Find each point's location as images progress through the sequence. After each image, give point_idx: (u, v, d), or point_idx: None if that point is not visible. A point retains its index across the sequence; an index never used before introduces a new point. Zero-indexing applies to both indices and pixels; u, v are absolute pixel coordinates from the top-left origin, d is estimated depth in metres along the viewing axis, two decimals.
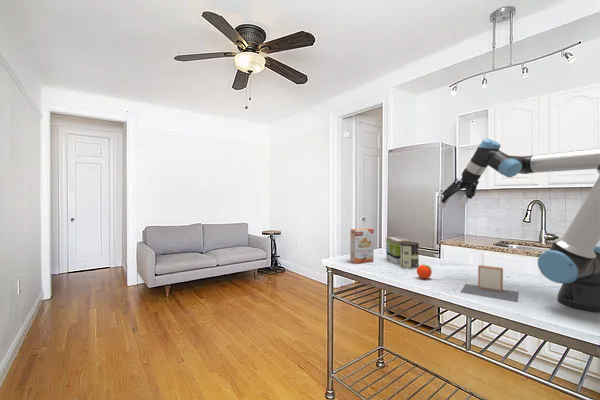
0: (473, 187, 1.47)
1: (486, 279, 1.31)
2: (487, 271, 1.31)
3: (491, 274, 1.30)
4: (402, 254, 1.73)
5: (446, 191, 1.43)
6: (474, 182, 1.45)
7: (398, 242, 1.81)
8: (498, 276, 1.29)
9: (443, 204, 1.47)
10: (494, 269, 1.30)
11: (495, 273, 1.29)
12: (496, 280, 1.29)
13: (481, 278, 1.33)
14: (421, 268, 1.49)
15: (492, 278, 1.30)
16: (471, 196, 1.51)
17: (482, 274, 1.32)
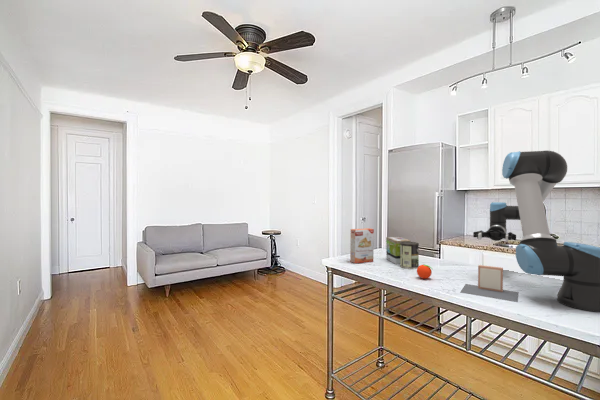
0: None
1: (486, 279, 1.31)
2: (487, 271, 1.31)
3: (491, 274, 1.30)
4: (402, 254, 1.73)
5: None
6: (507, 234, 1.49)
7: (398, 242, 1.81)
8: (498, 276, 1.29)
9: None
10: (494, 269, 1.30)
11: (495, 273, 1.29)
12: (496, 280, 1.29)
13: (481, 278, 1.33)
14: (421, 268, 1.49)
15: (492, 278, 1.30)
16: (513, 236, 1.40)
17: (482, 274, 1.32)
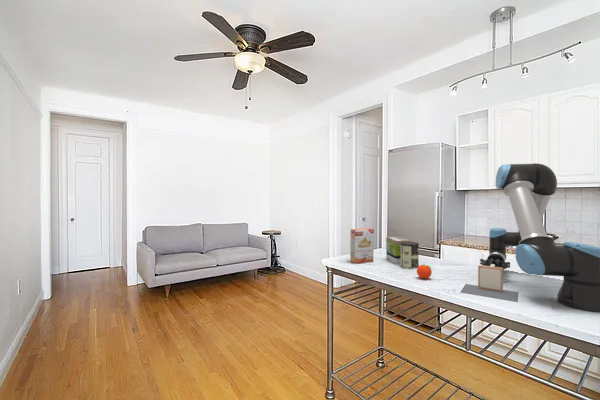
0: None
1: (486, 279, 1.31)
2: (487, 271, 1.31)
3: (491, 274, 1.30)
4: (402, 254, 1.73)
5: None
6: None
7: (398, 242, 1.81)
8: (498, 276, 1.29)
9: None
10: (494, 269, 1.30)
11: (495, 273, 1.29)
12: (496, 280, 1.29)
13: (481, 278, 1.33)
14: (421, 268, 1.49)
15: (492, 278, 1.30)
16: (500, 266, 1.41)
17: (482, 274, 1.32)
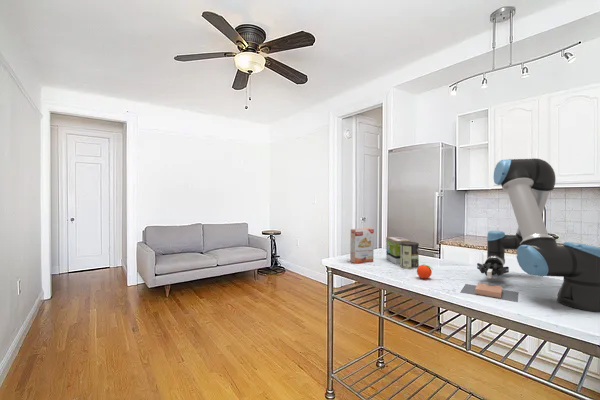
0: None
1: None
2: None
3: None
4: (402, 254, 1.73)
5: (480, 269, 1.39)
6: None
7: (398, 242, 1.81)
8: None
9: None
10: None
11: None
12: None
13: None
14: (421, 268, 1.49)
15: None
16: (498, 271, 1.33)
17: None
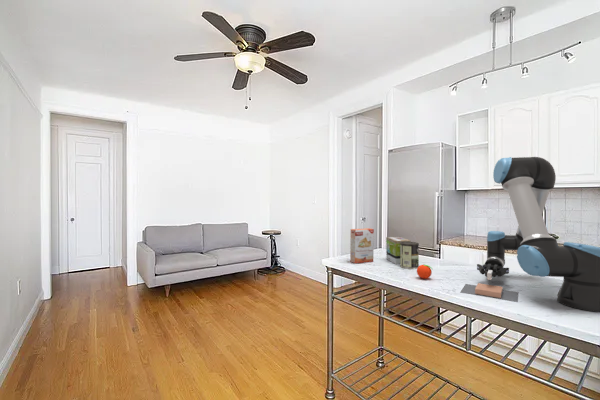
0: None
1: None
2: None
3: None
4: (402, 254, 1.73)
5: (480, 270, 1.37)
6: None
7: (398, 242, 1.81)
8: None
9: None
10: None
11: None
12: None
13: None
14: (421, 268, 1.49)
15: None
16: (498, 272, 1.31)
17: None
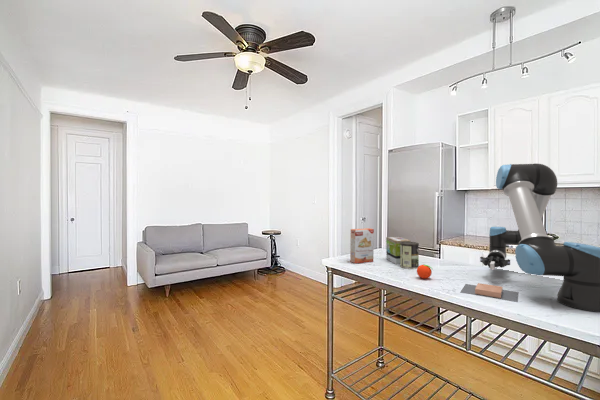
0: None
1: None
2: None
3: None
4: (402, 254, 1.73)
5: (483, 262, 1.47)
6: None
7: (398, 242, 1.81)
8: None
9: None
10: None
11: None
12: None
13: None
14: (421, 268, 1.49)
15: None
16: (500, 263, 1.42)
17: None
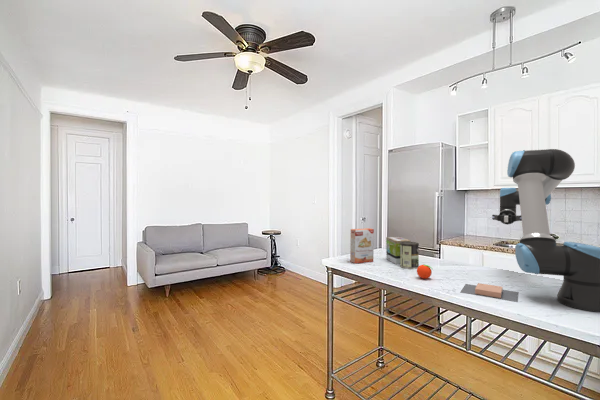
0: None
1: None
2: None
3: None
4: (402, 254, 1.73)
5: (496, 218, 1.50)
6: None
7: (398, 242, 1.81)
8: None
9: (504, 217, 1.42)
10: None
11: None
12: None
13: None
14: (421, 268, 1.49)
15: None
16: (513, 217, 1.44)
17: None
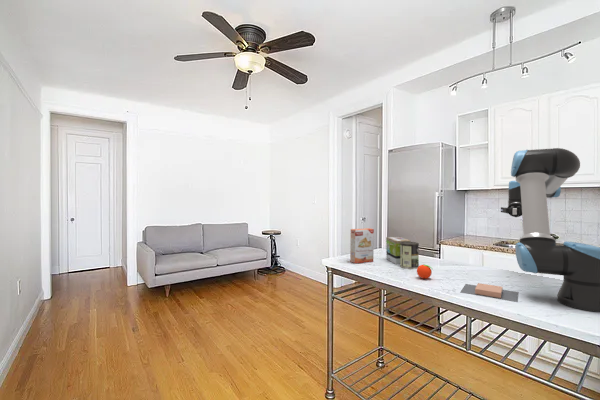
0: None
1: None
2: None
3: None
4: (402, 254, 1.73)
5: (505, 211, 1.50)
6: None
7: (398, 242, 1.81)
8: None
9: (512, 210, 1.42)
10: None
11: None
12: None
13: None
14: (421, 268, 1.49)
15: None
16: (522, 209, 1.44)
17: None
